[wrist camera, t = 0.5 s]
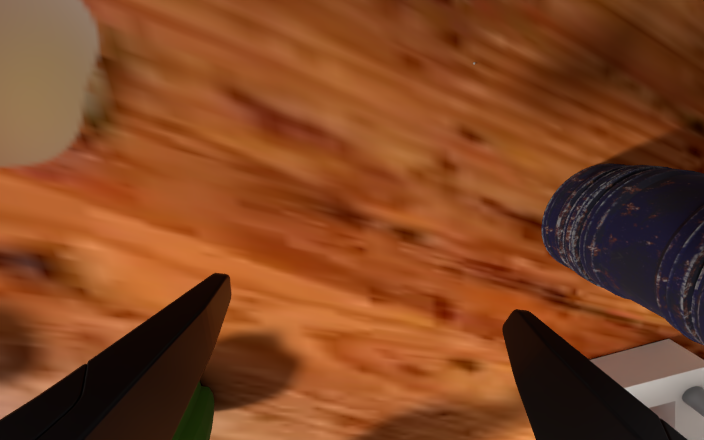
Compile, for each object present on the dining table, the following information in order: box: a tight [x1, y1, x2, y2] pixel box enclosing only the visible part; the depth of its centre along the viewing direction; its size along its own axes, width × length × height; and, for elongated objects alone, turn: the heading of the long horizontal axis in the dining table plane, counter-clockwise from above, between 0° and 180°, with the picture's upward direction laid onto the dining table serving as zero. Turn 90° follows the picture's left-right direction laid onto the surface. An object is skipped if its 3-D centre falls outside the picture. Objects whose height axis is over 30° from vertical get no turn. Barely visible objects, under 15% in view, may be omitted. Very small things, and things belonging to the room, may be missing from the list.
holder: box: [590, 339, 704, 440], centre depth 29 cm, size 14×14×5 cm
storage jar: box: [542, 164, 704, 345], centre depth 18 cm, size 10×10×15 cm
